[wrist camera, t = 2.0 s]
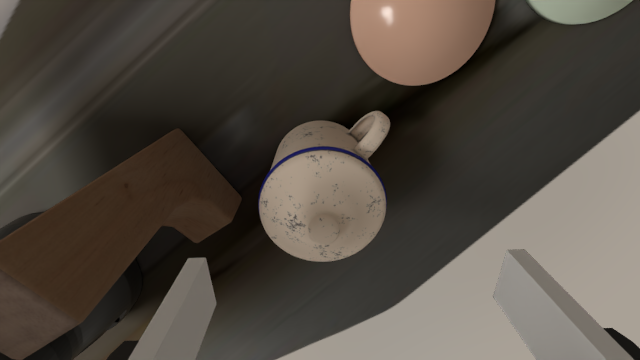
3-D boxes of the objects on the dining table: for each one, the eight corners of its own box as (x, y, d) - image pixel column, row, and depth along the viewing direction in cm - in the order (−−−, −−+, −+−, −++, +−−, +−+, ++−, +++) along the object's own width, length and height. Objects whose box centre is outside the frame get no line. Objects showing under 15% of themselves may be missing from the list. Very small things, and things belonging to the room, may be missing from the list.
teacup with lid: (327, 219, 32) (334, 309, 21) (254, 171, 29) (220, 245, 19) (408, 132, 28) (466, 188, 17) (332, 67, 25) (346, 87, 15)
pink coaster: (348, 86, 26) (349, 87, 25) (350, -75, 21) (352, -79, 21) (475, 82, 26) (479, 83, 25) (504, -79, 21) (511, -83, 21)
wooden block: (244, 197, 30) (163, 381, 14) (211, 219, 31) (99, 414, 15) (179, 125, 27) (-25, 254, 11) (144, 152, 28) (-90, 307, 12)
